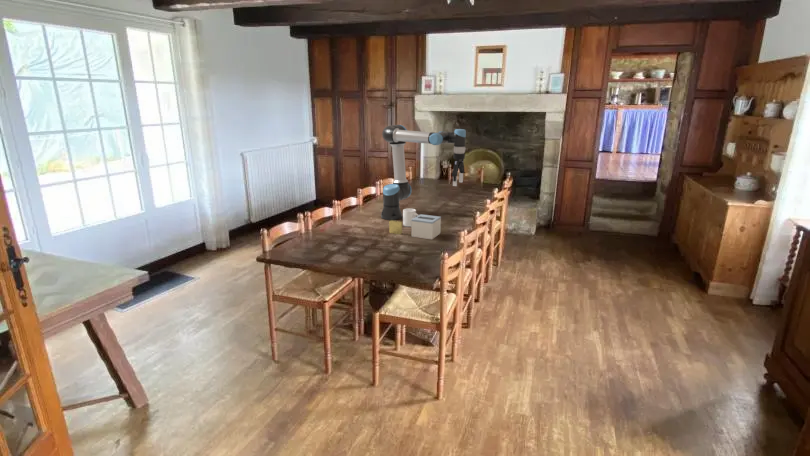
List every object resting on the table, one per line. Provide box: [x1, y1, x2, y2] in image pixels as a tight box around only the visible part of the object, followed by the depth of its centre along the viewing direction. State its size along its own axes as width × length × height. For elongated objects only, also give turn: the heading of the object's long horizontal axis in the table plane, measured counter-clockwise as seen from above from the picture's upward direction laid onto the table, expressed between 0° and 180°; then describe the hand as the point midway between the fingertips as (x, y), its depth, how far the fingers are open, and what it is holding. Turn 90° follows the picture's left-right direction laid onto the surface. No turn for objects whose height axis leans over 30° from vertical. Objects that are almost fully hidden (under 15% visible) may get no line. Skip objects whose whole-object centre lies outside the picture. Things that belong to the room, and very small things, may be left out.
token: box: [388, 220, 403, 235], centre depth 275 cm, size 8×2×8 cm, turn 65°
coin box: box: [410, 213, 442, 240], centre depth 271 cm, size 14×14×11 cm
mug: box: [402, 208, 419, 228], centre depth 291 cm, size 9×12×11 cm
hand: (457, 184), depth 294 cm, fingers open, 13 cm apart
